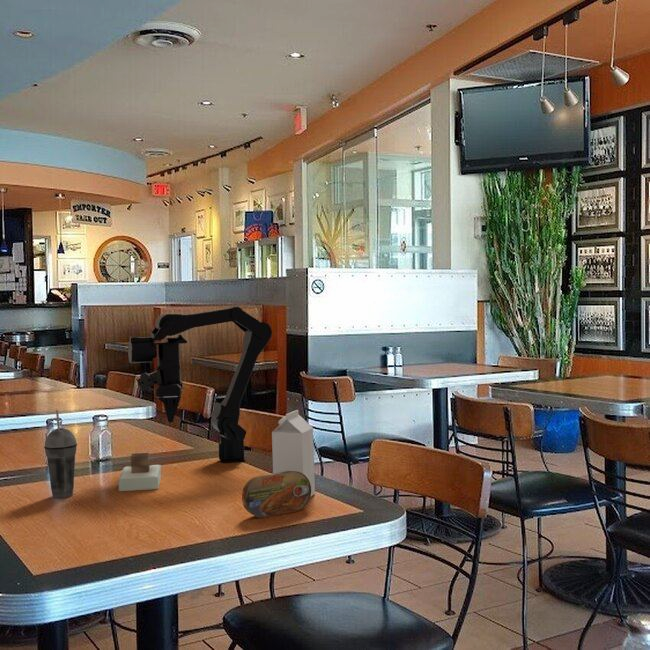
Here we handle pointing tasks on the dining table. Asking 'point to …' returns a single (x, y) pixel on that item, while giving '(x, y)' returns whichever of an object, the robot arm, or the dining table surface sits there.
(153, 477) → the plinth
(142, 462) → the walnut block
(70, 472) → the beverage cup
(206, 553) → the dining table surface
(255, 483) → the tin
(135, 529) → the dining table surface
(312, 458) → the milk carton
